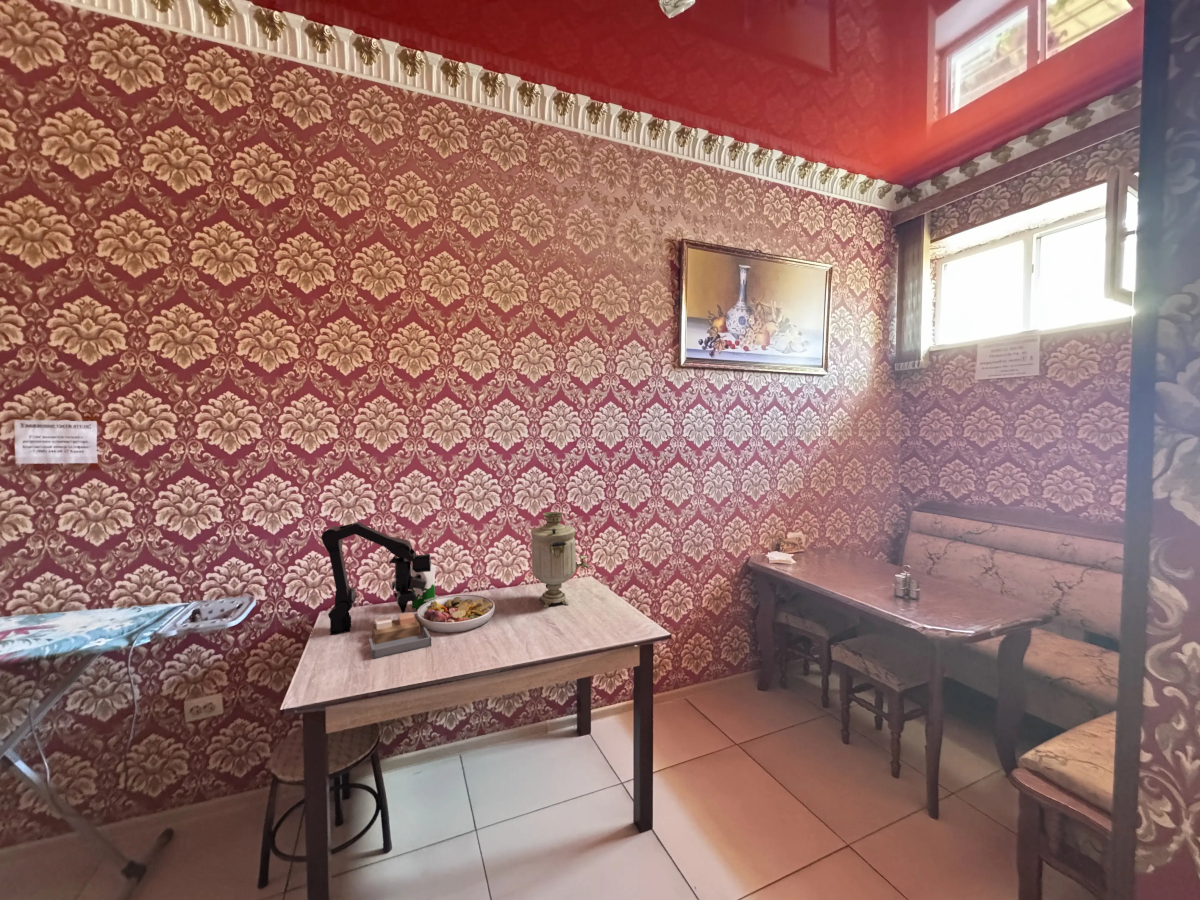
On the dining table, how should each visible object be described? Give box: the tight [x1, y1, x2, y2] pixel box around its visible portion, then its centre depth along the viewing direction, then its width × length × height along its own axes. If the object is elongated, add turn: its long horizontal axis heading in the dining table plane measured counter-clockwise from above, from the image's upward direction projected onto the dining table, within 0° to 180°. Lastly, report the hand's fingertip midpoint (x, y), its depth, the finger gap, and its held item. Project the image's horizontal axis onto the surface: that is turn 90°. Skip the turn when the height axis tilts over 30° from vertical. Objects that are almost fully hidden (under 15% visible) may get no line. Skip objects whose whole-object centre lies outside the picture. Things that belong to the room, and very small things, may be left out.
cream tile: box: [374, 616, 392, 630], centre depth 173 cm, size 5×5×2 cm
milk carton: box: [411, 563, 438, 611], centre depth 200 cm, size 9×9×20 cm
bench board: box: [371, 617, 421, 645], centre depth 174 cm, size 15×10×4 cm, turn 122°
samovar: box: [530, 511, 591, 609], centre depth 207 cm, size 30×26×40 cm
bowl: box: [416, 593, 496, 633], centre depth 189 cm, size 30×30×8 cm
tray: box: [368, 626, 432, 660], centre depth 165 cm, size 19×10×3 cm, turn 122°
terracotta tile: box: [398, 612, 416, 625], centre depth 177 cm, size 5×5×2 cm
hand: (403, 612), depth 183 cm, fingers closed
